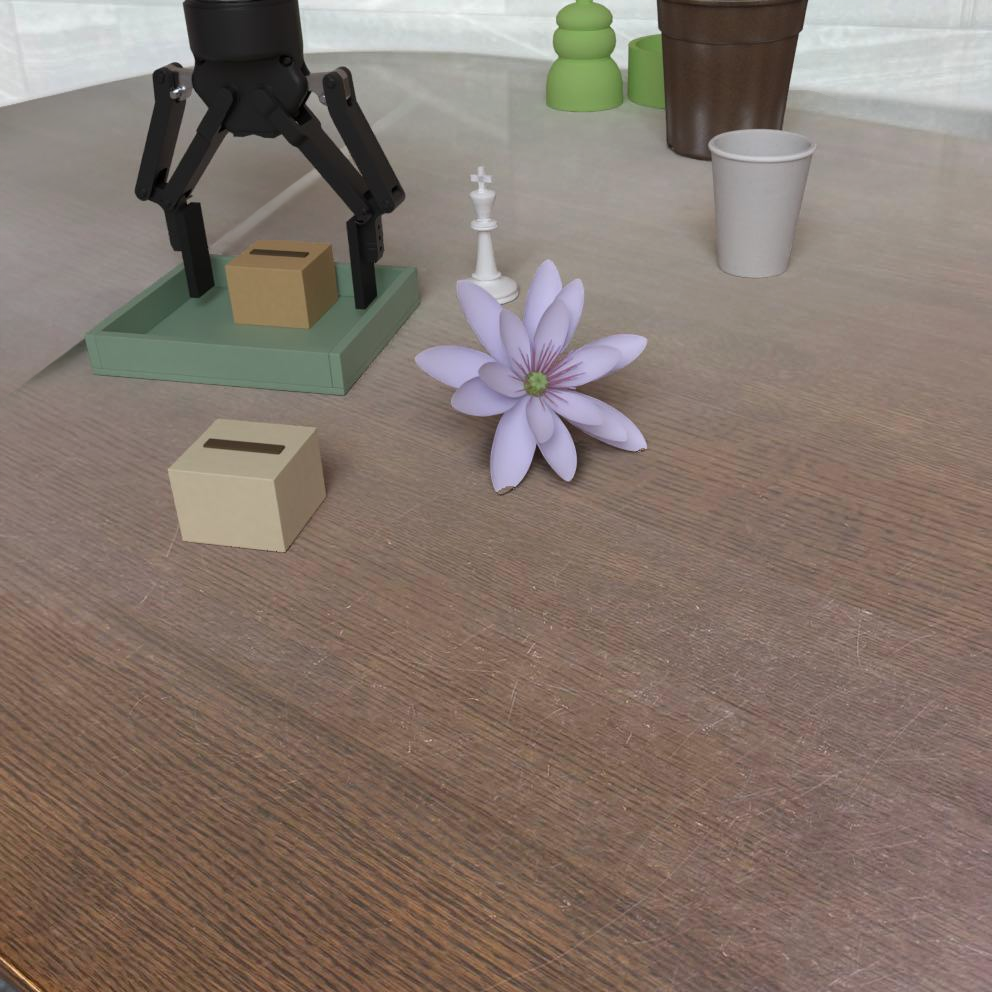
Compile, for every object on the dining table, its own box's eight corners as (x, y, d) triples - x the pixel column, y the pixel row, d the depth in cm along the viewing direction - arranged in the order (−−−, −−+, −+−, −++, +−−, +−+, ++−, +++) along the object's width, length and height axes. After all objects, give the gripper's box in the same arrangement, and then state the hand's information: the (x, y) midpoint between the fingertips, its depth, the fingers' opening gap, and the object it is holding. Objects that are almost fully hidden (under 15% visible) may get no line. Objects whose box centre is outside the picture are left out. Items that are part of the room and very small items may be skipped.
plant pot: (785, 173, 121) (801, 0, 112) (630, 162, 126) (634, -6, 117) (809, 133, 134) (824, -25, 125) (667, 124, 138) (673, -29, 130)
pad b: (234, 323, 90) (224, 263, 87) (266, 294, 95) (258, 236, 92) (309, 329, 88) (301, 268, 86) (338, 299, 93) (331, 241, 91)
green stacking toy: (723, 79, 157) (729, -26, 151) (761, 104, 145) (769, -9, 139) (536, 92, 154) (533, -16, 147) (559, 119, 142) (557, 3, 135)
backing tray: (93, 374, 84) (83, 334, 82) (201, 288, 97) (194, 252, 96) (344, 395, 80) (339, 354, 78) (420, 303, 94) (417, 266, 92)
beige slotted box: (182, 541, 65) (166, 466, 63) (230, 486, 70) (216, 415, 68) (285, 553, 64) (273, 477, 62) (326, 496, 69) (316, 424, 66)
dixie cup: (690, 277, 97) (696, 151, 92) (716, 244, 104) (723, 125, 98) (793, 289, 95) (805, 160, 89) (813, 254, 101) (826, 132, 96)
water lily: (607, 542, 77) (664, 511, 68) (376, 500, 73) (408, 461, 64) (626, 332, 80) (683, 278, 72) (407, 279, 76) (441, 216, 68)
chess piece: (504, 309, 92) (499, 178, 87) (446, 302, 94) (437, 173, 88) (527, 286, 96) (524, 160, 91) (470, 280, 98) (464, 155, 92)
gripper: (434, -17, 80) (454, 289, 92) (100, -21, 85) (158, 270, 96) (399, 2, 74) (424, 327, 85) (40, -4, 79) (110, 304, 90)
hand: (283, 297), depth 91 cm, fingers open, 13 cm apart
